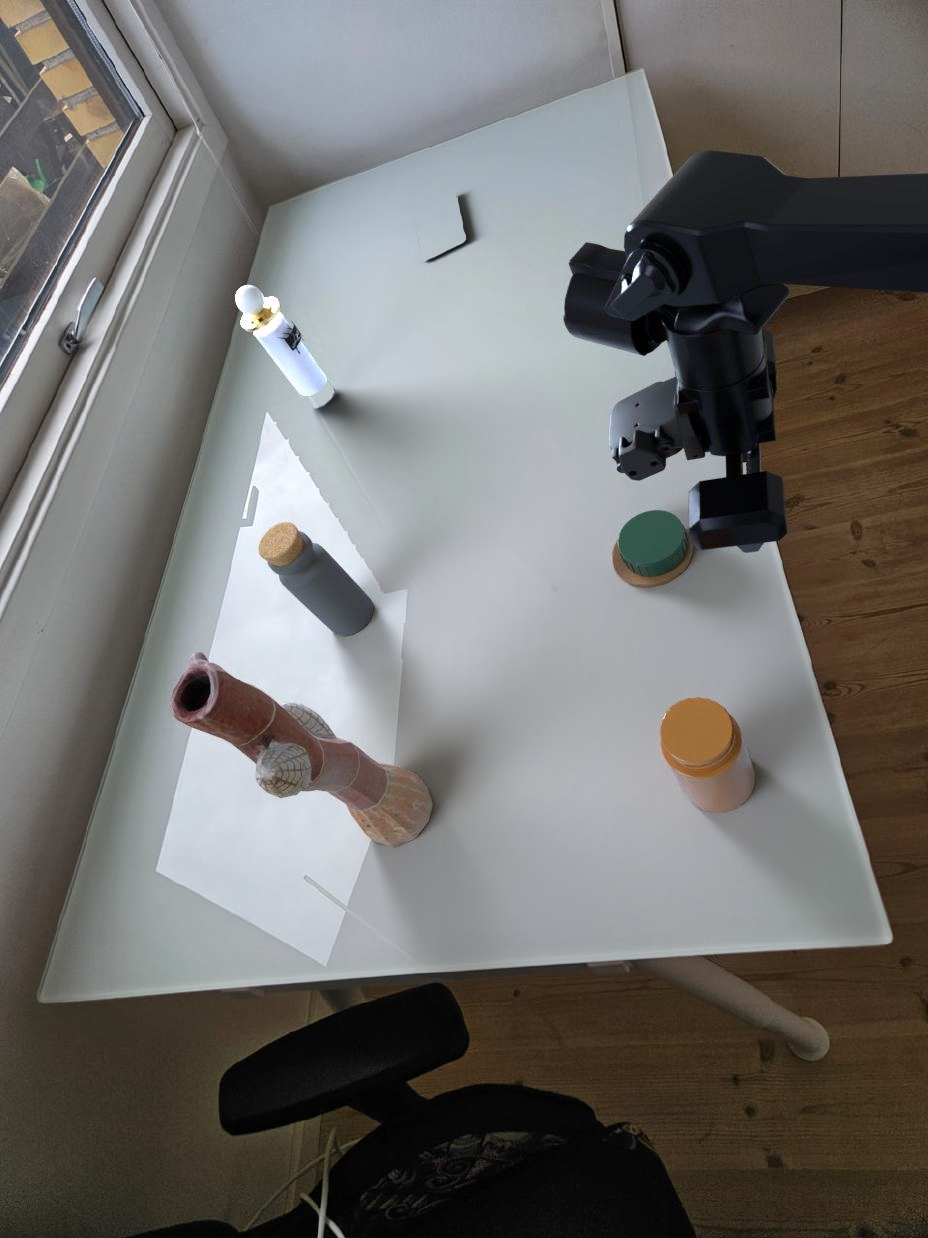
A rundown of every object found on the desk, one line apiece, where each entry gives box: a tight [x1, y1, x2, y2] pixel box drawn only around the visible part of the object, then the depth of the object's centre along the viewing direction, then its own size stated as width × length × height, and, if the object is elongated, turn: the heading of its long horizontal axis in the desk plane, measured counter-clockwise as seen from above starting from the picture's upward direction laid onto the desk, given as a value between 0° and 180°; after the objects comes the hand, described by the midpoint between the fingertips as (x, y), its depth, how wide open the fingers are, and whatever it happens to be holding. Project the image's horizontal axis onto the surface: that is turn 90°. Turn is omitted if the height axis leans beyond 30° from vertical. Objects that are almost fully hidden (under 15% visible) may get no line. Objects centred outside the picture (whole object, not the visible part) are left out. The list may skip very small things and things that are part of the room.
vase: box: [169, 651, 434, 848], centre depth 66 cm, size 10×7×30 cm
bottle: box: [257, 521, 374, 637], centre depth 88 cm, size 6×6×15 cm
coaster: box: [611, 527, 694, 588], centre depth 81 cm, size 8×8×1 cm
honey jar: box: [659, 696, 756, 814], centre depth 64 cm, size 6×6×10 cm
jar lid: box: [617, 509, 689, 577], centre depth 80 cm, size 7×7×2 cm
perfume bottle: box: [235, 284, 328, 396], centre depth 111 cm, size 6×6×20 cm
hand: (749, 503), depth 65 cm, fingers open, 9 cm apart
